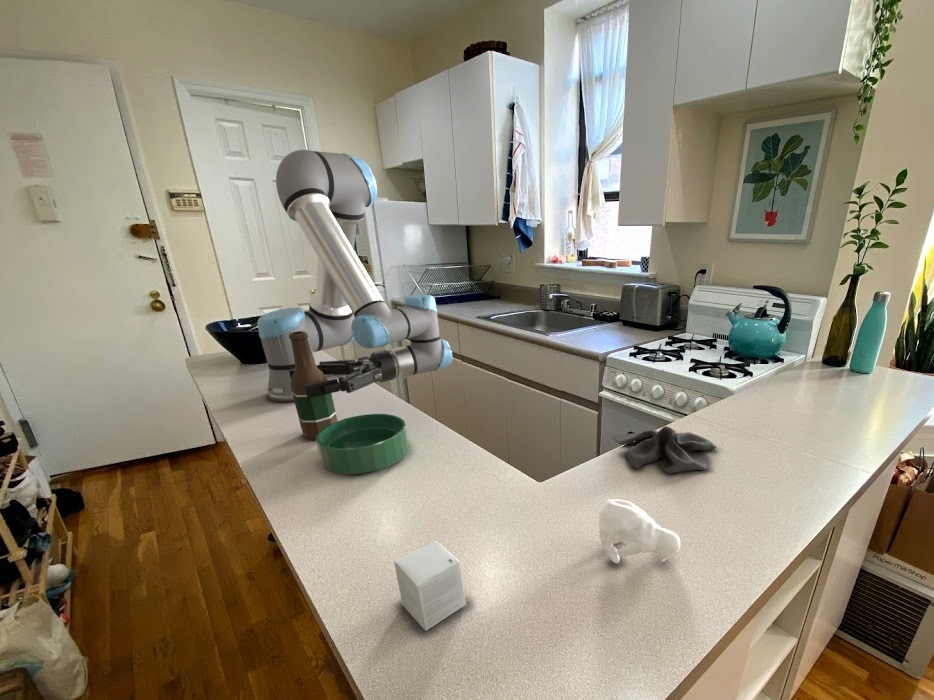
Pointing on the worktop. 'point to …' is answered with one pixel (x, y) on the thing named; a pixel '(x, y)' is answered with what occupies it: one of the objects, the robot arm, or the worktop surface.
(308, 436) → the beer bottle
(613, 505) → the white irregular figure
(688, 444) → the cloth
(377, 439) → the green bowl
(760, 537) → the worktop surface
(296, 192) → the robot arm
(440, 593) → the product box
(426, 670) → the worktop surface
